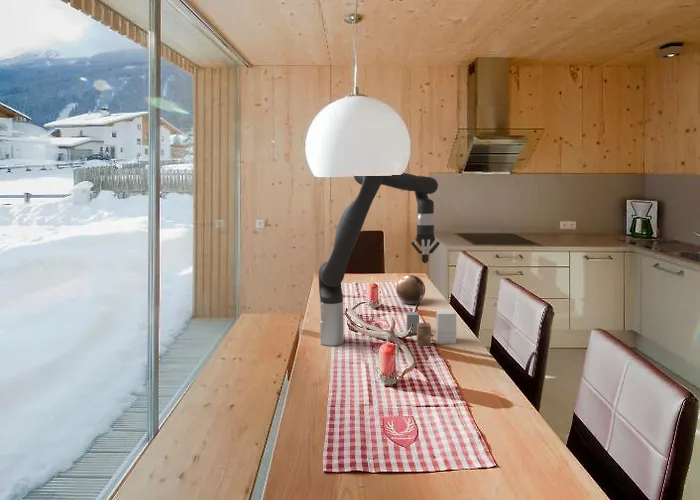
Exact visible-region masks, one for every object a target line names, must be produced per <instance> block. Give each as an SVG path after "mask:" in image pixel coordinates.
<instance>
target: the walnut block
mask: <svg viewBox="0 0 700 500" xmlns="http://www.w3.org/2000/svg"><path fill="white" fill-rule="evenodd" d="M431 339H432V326H431V323H430V322H419V323H417V333H416V343H417V346H418V347H429V346H430V347H431V346H432V340H431Z"/></svg>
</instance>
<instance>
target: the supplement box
mask: <svg viewBox="0 0 700 500" xmlns="http://www.w3.org/2000/svg"><path fill="white" fill-rule="evenodd" d="M435 317H436V318H435V319H436V321H435V322H436V327H435V328H436V329H435V338H436V341H437V344H439V345H446V344H452V345H453V344H455V345H456V344H457V313H456V311H455V310H454V309H453V308H451V309H450V308H446V309H445V308H441V309H436V313H435Z"/></svg>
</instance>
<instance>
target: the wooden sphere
mask: <svg viewBox="0 0 700 500" xmlns="http://www.w3.org/2000/svg"><path fill="white" fill-rule="evenodd" d="M395 289H396V291H395V292H396V295H397V298H398V299H399V300H400V301H401V302H403V303H404V304H407V305H415V304H418V303H419V302H420V301H422V299H423V298H424V297H425V295H426V294H425V293H426V286H425V283H424V281H423V280H422V279H421V278H419V277H418V276H416V275H411V274H410V275H406V276H403V277H401V278H400V279H399V280H398V282H397V284H396V287H395Z"/></svg>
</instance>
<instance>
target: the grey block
mask: <svg viewBox="0 0 700 500" xmlns="http://www.w3.org/2000/svg"><path fill="white" fill-rule="evenodd" d="M412 322H413V327H412V333H411V334H417V323H420V313H419V311H406V332H407V331H408V330H409V329H410V327H411V324H412Z"/></svg>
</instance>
